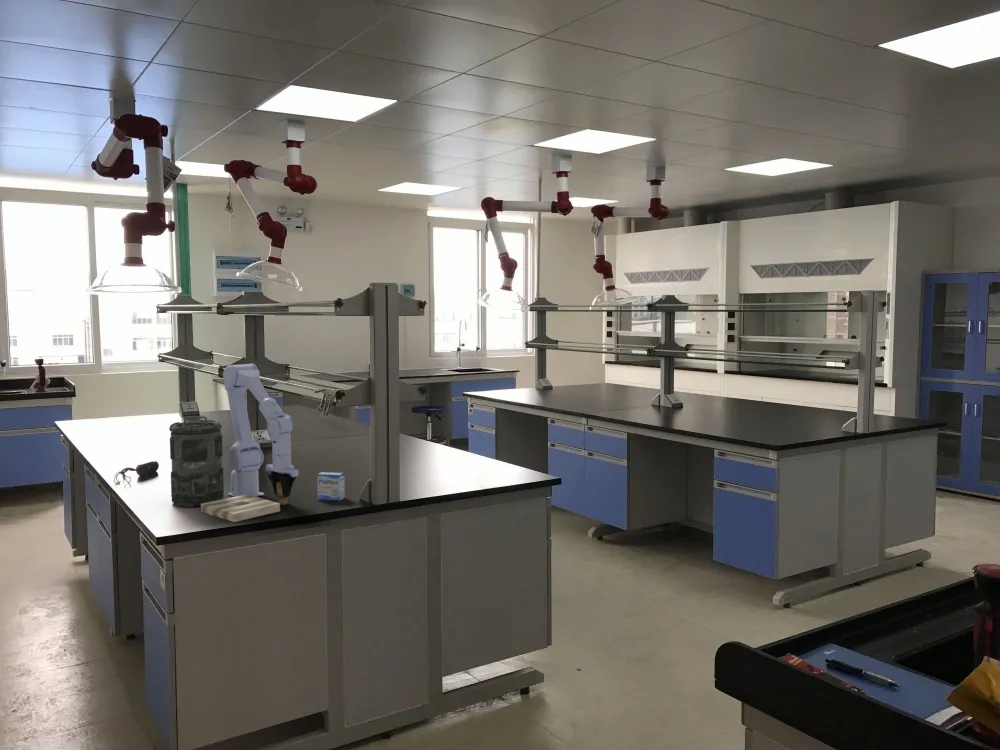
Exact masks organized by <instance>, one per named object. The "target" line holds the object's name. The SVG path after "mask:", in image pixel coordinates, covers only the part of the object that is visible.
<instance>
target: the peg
mask: <svg viewBox="0 0 1000 750" xmlns="http://www.w3.org/2000/svg"><path fill="white" fill-rule="evenodd" d="M276 488H277V495H276V497H277V503H280V506H281V505H282V506H283V505H284V506H285V505H287V504H288V497H283V494H282V486H281V482H280V481H279V482H276Z"/></svg>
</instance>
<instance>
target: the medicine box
mask: <svg viewBox="0 0 1000 750" xmlns="http://www.w3.org/2000/svg"><path fill="white" fill-rule="evenodd" d="M345 495H346V494H345V472H333V471H332V472H328V471H321V472H319V473H317V500H318V501H336V502H340V501H342V500H343V499H345V497H346V496H345Z"/></svg>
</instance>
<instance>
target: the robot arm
mask: <svg viewBox="0 0 1000 750" xmlns="http://www.w3.org/2000/svg"><path fill="white" fill-rule="evenodd" d="M260 374H261V371H260V370H259V369H258V367H257V365H256V364H255V363H246V364H228V365H227V366H225V368H224V371H223V372H222V377H223V383H224V388H225V391H226V395H227V400H228V406H229V412H230V416H231V423H232V428H233V433H234V439H235V442H234V443H233V445H232V446H231V447H230V448H229V465H230V467H231V468H232V469H233V470H232V471H231V472H230V476H229V478H230V492H229V493H228V494H227V495H228V496H232V497H236V496H240V495H245V494H247V495H251V496H255V497H260V496H261V497H262V496H265V493H264V492H260V490H259V489H260V486H259V485H260V484H259V469H260V468H261V465H263V463H264V459H265V456H264V453H263V451H262V449H261V446H260V443H259V442H258V441H256V440H255V439H253V435H252V434H253V433H252V429H251V425H250V419H249V414H248V412H249V411H248V409H247V408H248V407H247V402H246V396H245V392H247V390H249V391H250V393H251V394H252V395H253V396H254V398H255V399H256V400H257V401H258V403H259V406H258V410H259V411H260V412H261V414H262V416H263V417H264V418H265V420H266V422H267V424H268V425H267V430H268V433H269V438H270V440H271V447H272V448H271V450H272V452H271V453H272V459H271V460H272V463H270V464H266V465H265V470H266V472H270V473H267V478H268V479H269V481H270V482H271V485H272V489H273V491H274V494H275V496H277V488H276V482H279V481H280V482H281V486H282V494H283V497H287V498H288V497H290V496H291V492H292V488H293V486H294V482H295V480H296V479H297V477H298V476H299V469H296V468H294V467H295V466H294V465H292V452H291V451H292V450H291V449H292V448H291V447H292V444H291V443H292V442H291V438H292V437H291V433H293V432H294V430H295V422H294V419H293V417H292V416H291V415H289V414H287V413H284V411H283V410H282V408H281V407H280V405H279V404H278V402H277V400H276V399H275V398H272V397H270V396H269V394H268V393H267V391H266V389H265V386H264V385H263V383H262V382H261V379H260V376H261V375H260Z"/></svg>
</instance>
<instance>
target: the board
mask: <svg viewBox="0 0 1000 750" xmlns="http://www.w3.org/2000/svg"><path fill="white" fill-rule="evenodd" d="M200 512H201V513H204V514H206V515H209V516H213V517H217V518H219V519H222V520H227V521H230V522H232V523H235V522H240V521H245V520H248V519H249V520H250V519H252V518H257V517H261V516H264V515H269V514H275V513H278V512H281V505H280V503H278V501H277V502H276V501H272V500H269V499H266V498H262V497H260V496H256V497H255V496H251V495H247V494H245V495H240V496H236V497H235V496H232V497H227V498H223V499H221V500H217V501H212V502H207V503H203V504H201V506H200Z"/></svg>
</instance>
